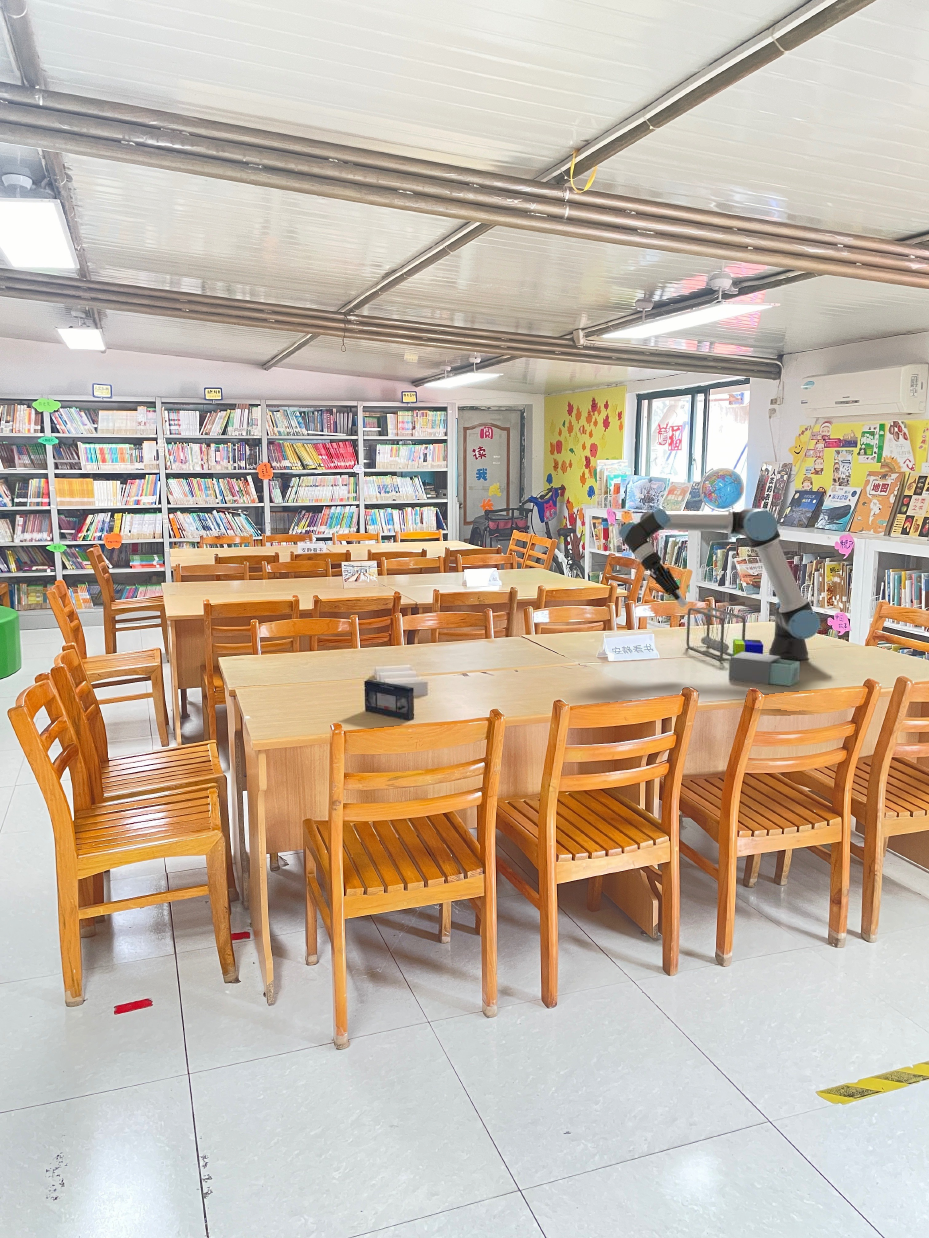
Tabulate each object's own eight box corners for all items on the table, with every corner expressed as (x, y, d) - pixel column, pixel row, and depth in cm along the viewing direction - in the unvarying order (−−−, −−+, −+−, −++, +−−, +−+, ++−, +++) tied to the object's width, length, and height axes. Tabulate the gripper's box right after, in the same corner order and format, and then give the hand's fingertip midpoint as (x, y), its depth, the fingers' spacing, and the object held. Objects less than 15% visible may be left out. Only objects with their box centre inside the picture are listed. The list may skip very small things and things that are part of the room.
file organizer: (408, 674, 330) (408, 660, 329) (427, 696, 296) (427, 681, 295) (373, 676, 326) (373, 662, 326) (389, 699, 293) (389, 684, 292)
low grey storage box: (729, 679, 319) (730, 657, 318) (741, 673, 329) (742, 651, 327) (768, 684, 311) (769, 661, 309) (779, 678, 320) (780, 656, 319)
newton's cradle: (744, 660, 352) (746, 616, 349) (720, 661, 349) (722, 617, 346) (707, 646, 380) (709, 606, 378) (685, 647, 378) (687, 606, 375)
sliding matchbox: (728, 677, 320) (729, 658, 319) (738, 672, 328) (739, 654, 327) (789, 686, 307) (791, 666, 306) (798, 680, 315) (799, 661, 314)
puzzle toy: (761, 670, 333) (763, 644, 332) (734, 669, 335) (735, 643, 334) (758, 665, 343) (760, 640, 342) (732, 664, 345) (733, 639, 344)
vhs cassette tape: (364, 711, 276) (363, 680, 274) (370, 709, 278) (370, 678, 276) (408, 721, 264) (407, 689, 263) (414, 719, 267) (414, 687, 265)
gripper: (649, 561, 347) (685, 608, 341) (633, 565, 337) (670, 613, 331) (662, 549, 343) (699, 597, 336) (647, 552, 333) (684, 602, 326)
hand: (684, 605), depth 334 cm, fingers closed
